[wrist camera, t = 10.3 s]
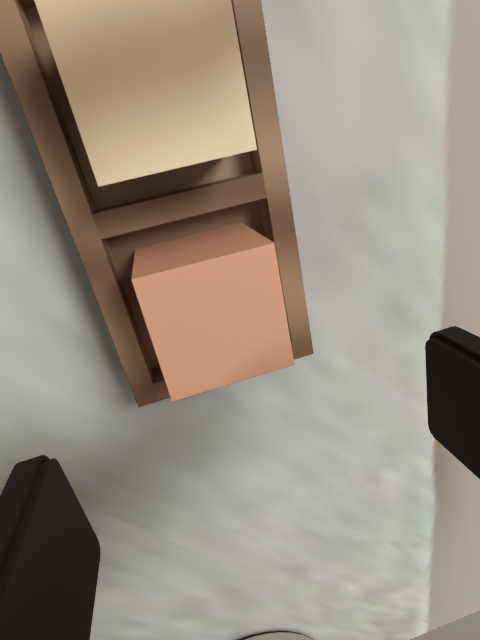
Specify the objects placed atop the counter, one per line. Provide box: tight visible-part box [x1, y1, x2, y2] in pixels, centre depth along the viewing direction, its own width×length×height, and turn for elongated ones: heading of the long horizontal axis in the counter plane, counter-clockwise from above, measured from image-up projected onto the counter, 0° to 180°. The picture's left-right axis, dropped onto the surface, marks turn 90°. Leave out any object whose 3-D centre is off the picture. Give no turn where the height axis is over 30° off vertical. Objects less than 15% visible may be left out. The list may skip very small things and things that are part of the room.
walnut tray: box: [0, 0, 313, 407], centre depth 14 cm, size 25×9×6 cm, turn 12°
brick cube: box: [131, 223, 294, 401], centre depth 16 cm, size 5×5×5 cm
